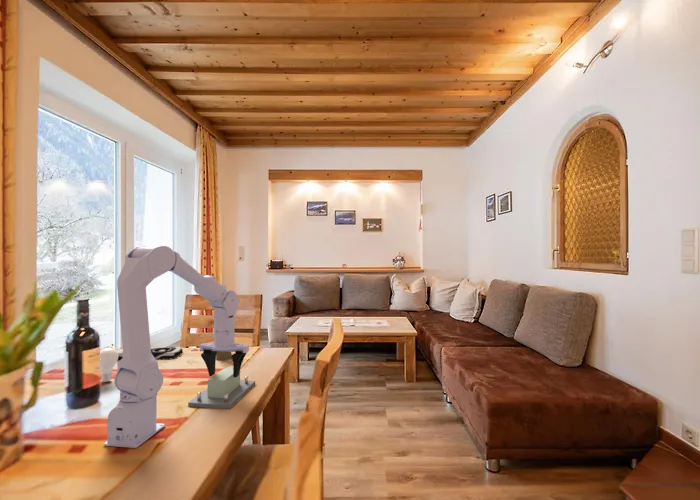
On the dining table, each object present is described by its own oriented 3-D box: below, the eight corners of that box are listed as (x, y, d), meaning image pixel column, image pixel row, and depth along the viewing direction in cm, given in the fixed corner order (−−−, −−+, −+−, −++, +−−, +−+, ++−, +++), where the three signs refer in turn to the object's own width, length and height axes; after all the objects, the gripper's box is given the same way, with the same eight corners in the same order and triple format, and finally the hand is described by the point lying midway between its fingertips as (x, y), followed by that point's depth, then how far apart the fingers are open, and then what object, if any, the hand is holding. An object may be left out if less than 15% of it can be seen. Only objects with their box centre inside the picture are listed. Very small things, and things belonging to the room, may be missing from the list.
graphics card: (120, 347, 138) (183, 345, 141) (120, 355, 138) (183, 353, 141) (105, 354, 128) (173, 352, 131) (105, 363, 128) (173, 360, 131)
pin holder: (229, 408, 90) (229, 397, 90) (188, 406, 91) (188, 395, 91) (255, 384, 107) (255, 374, 107) (219, 382, 108) (219, 373, 108)
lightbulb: (103, 387, 104) (103, 351, 104) (89, 384, 106) (89, 350, 106) (122, 379, 110) (123, 346, 110) (109, 377, 112) (109, 344, 112)
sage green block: (224, 398, 94) (224, 380, 94) (207, 397, 95) (207, 379, 95) (240, 384, 104) (240, 368, 104) (225, 383, 105) (225, 367, 105)
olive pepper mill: (215, 357, 134) (215, 329, 134) (231, 355, 137) (231, 328, 137) (216, 361, 129) (216, 333, 129) (232, 359, 131) (232, 331, 132)
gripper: (253, 327, 102) (252, 372, 102) (209, 326, 104) (208, 369, 104) (243, 333, 95) (242, 380, 95) (195, 331, 97) (195, 378, 97)
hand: (224, 375), depth 99 cm, fingers open, 7 cm apart
